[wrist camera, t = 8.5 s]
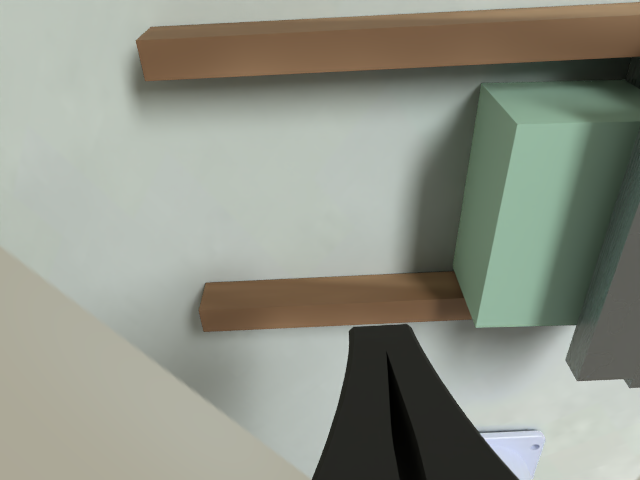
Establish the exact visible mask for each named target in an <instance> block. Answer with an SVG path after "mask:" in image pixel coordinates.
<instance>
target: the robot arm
mask: <svg viewBox="0 0 640 480" xmlns="http://www.w3.org/2000/svg"><path fill="white" fill-rule="evenodd" d="M544 443H545V437H544V434H543V433H542V432H540V431H514V432H492V433H479V432H478V430H477V429H476V428H475V427H474V425H473V424H472V423H471V421H470V420H469V419H468V418H467V416H466V415H465V413H464V412H463V411H462V409H461V408H460V407H459V405H458V404H457V402H456V401H455V400H454V398H453V397H452V395H451V394H450V392H449V391H448V389H447V388H446V386H445V385H444V384H443V382H442V381H441V379H440V377H439V376H438V374H437V373H436V371H435V370H434V368H433V366H432V365H431V363H430V361H429V360H428V358H427V356H426V355H425V353H424V351H423V349H422V348H421V346H420V344H419V342H418V340H417V338H416V336H415V334H414V332H413V330H412V328H411V327H410V326H409V325H407V324H400V325H381V326H362V327H353V328H352V329H351V330H349V353H348V361H347V367H346V373H345V378H344V382H343V386H342V390H341V394H340V399H339V403H338V406H337V410H336V413H335V416H334V419H333V422H332V426H331V429H330V432H329V435H328V438H327V441H326V444H325V447H324V449H323V452H322V455H321V458H320V460H319V463H318V465H317V468H316V470H315V473H314V475H313V478H312V480H533V477H534V474H535V470H536V467H537V464H538V461H539V458H540V455H541V452H542V449H543V446H544Z"/></svg>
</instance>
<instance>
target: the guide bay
mask: <svg viewBox="0 0 640 480" xmlns="http://www.w3.org/2000/svg"><path fill="white" fill-rule="evenodd" d="M136 44H137V48H138V52H139V57H140V61H141V65H142V69H143V74H144V78H145V81H159V80H179V79H199V78H219V77H239V76H259V75H279V74H299V73H319V72H339V71H359V70H379V69H400V68H420V67H440V66H460V65H480V64H500V63H520V62H540V61H560V60H580V59H600V58H620V57H632V58H631V62H630V65H629V69H628V72H627V76H626V79H625V80H626V81H627V82H629V83H630V84H632V85H634V86H635V87H637V88H639V89H640V2H635V3H615V4H595V5H575V6H556V7H536V8H516V9H496V10H477V11H457V12H437V13H417V14H398V15H378V16H358V17H338V18H318V19H299V20H279V21H259V22H239V23H220V24H200V25H180V26H160V27H150V28H149V29H148V30H147V31H146V32H145V33H144V34H142V35H141V36H140V37H139V38H138V39H137V40H136ZM199 314H200V318H201V323H202V327H203V331H204V332H211V331H233V330H254V329H276V328H297V327H319V326H341V325H362V324H384V323H405V322H427V321H448V320H470V319H472V317H471V314H470V311H469V309H468V306H467V303H466V301H465V298H464V296H463V293H462V290H461V288H460V285H459V282H458V280H457V277H456V274H455V272H454V271H447V272H426V273H404V274H383V275H362V276H341V277H319V278H298V279H277V280H256V281H234V282H213V283H206V284H205V288H204V292H203V296H202V300H201V303H200V307H199ZM566 362H567V364H568V366H569V367H570V369H571V371H572V373H573V375H574V377H575V378H576V380H577V381H591V380H613V379H624V380H625V382H626V383H627V385H628V387H629V388H639V387H640V128H639V131H638V134H637V138H636V141H635V144H634V147H633V150H632V153H631V156H630V159H629V163H628V166H627V169H626V172H625V175H624V178H623V181H622V185H621V188H620V191H619V194H618V197H617V200H616V203H615V206H614V210H613V213H612V216H611V219H610V222H609V225H608V228H607V231H606V235H605V238H604V241H603V244H602V247H601V250H600V253H599V256H598V260H597V263H596V266H595V269H594V272H593V275H592V278H591V282H590V285H589V288H588V291H587V294H586V297H585V300H584V303H583V307H582V310H581V313H580V316H579V319H578V322H577V325H576V328H575V332H574V335H573V338H572V341H571V344H570V347H569V350H568V353H567V357H566Z"/></svg>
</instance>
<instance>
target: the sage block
mask: <svg viewBox="0 0 640 480" xmlns="http://www.w3.org/2000/svg"><path fill="white" fill-rule="evenodd" d="M639 128H640V89H639V88H637V87H635V86H634V85H632V84H630V83H629V82H627V81H626V80H592V81H552V82H512V83H481V88H480V95H479V101H478V107H477V114H476V120H475V127H474V133H473V139H472V146H471V152H470V159H469V165H468V171H467V178H466V184H465V190H464V197H463V203H462V210H461V216H460V222H459V229H458V235H457V242H456V248H455V254H454V261H453V269H454V272H455V274H456V277H457V280H458V282H459V285H460V288H461V290H462V293H463V296H464V298H465V301H466V303H467V306H468V309H469V311H470V314H471V317H472V319H473V322H474V325H475V327H476V328H481V327H519V326H558V325H577V322H578V319H579V316H580V313H581V310H582V307H583V303H584V300H585V297H586V294H587V291H588V288H589V285H590V282H591V278H592V275H593V272H594V269H595V266H596V263H597V260H598V256H599V253H600V250H601V247H602V244H603V241H604V238H605V235H606V231H607V228H608V225H609V222H610V219H611V216H612V213H613V210H614V206H615V203H616V200H617V197H618V194H619V191H620V188H621V185H622V181H623V178H624V175H625V172H626V169H627V166H628V163H629V159H630V156H631V153H632V150H633V147H634V144H635V141H636V138H637V134H638V131H639Z"/></svg>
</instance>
